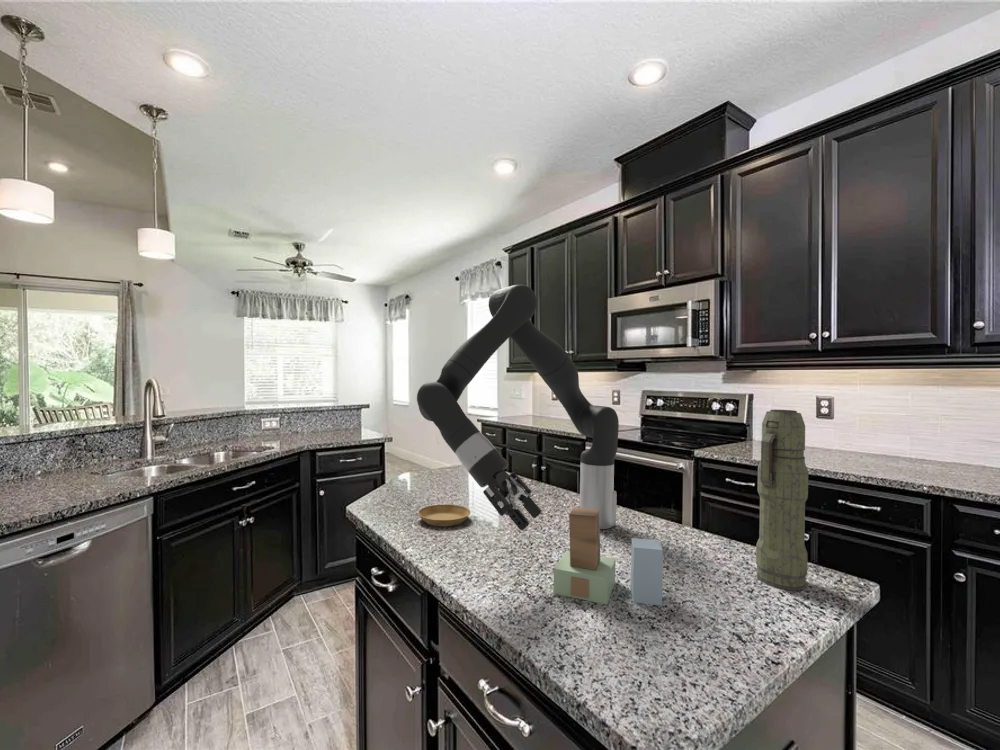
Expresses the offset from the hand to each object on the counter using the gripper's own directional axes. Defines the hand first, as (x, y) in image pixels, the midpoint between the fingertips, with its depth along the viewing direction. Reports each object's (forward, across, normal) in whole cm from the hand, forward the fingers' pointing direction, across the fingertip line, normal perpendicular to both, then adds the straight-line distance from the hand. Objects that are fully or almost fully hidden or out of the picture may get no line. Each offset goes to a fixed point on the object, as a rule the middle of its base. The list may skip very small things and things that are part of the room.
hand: (532, 521), depth 91 cm
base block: (+16, +1, +1) cm, 16 cm away
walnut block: (+12, +1, -3) cm, 13 cm away
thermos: (+42, +20, -25) cm, 53 cm away
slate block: (+24, +2, -7) cm, 25 cm away
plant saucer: (-15, +27, +32) cm, 45 cm away
